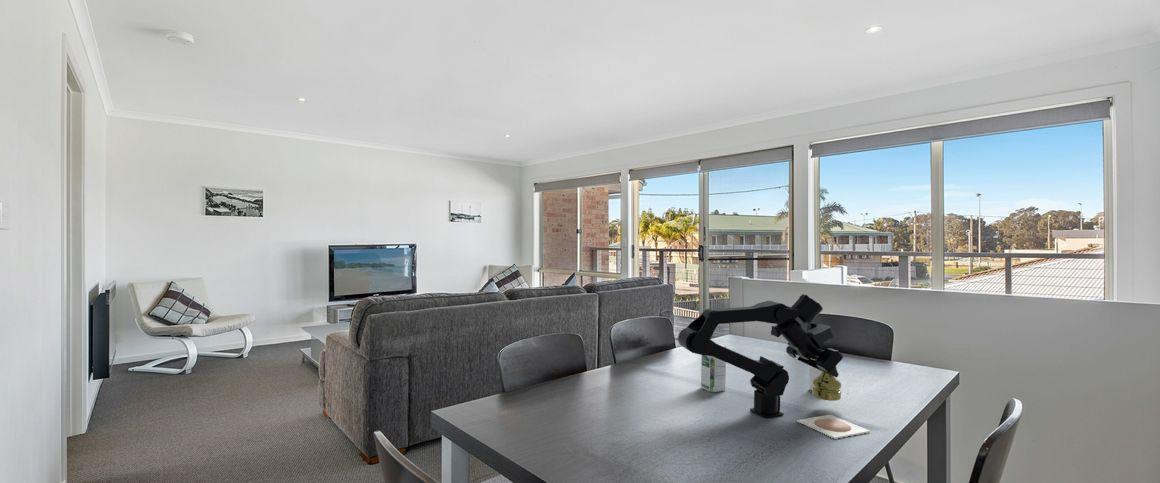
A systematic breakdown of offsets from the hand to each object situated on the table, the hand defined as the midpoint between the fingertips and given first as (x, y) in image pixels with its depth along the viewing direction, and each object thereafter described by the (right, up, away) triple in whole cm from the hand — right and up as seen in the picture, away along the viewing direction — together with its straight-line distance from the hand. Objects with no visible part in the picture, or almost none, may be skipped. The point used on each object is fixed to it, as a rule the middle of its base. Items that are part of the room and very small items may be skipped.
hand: (831, 373), depth 142 cm
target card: (-6, -11, -13) cm, 18 cm away
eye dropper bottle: (+5, -10, +17) cm, 21 cm away
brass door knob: (-1, -7, 0) cm, 7 cm away
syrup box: (-29, -10, +18) cm, 36 cm away
